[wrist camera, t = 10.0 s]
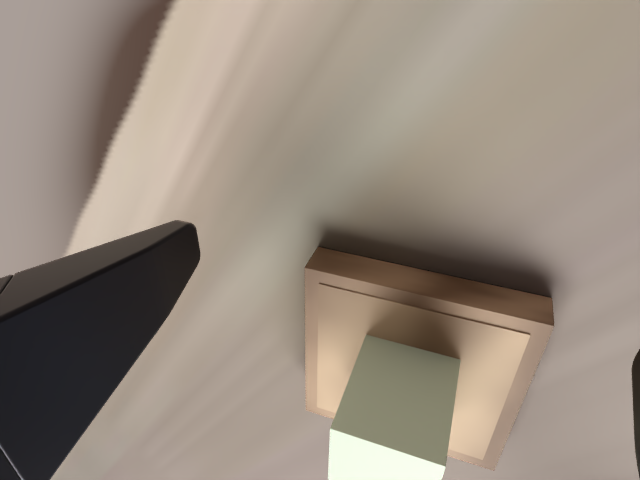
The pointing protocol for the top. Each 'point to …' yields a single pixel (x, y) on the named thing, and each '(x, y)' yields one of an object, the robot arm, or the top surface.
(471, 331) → the base board
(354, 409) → the block
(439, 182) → the top surface
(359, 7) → the top surface
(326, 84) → the top surface
